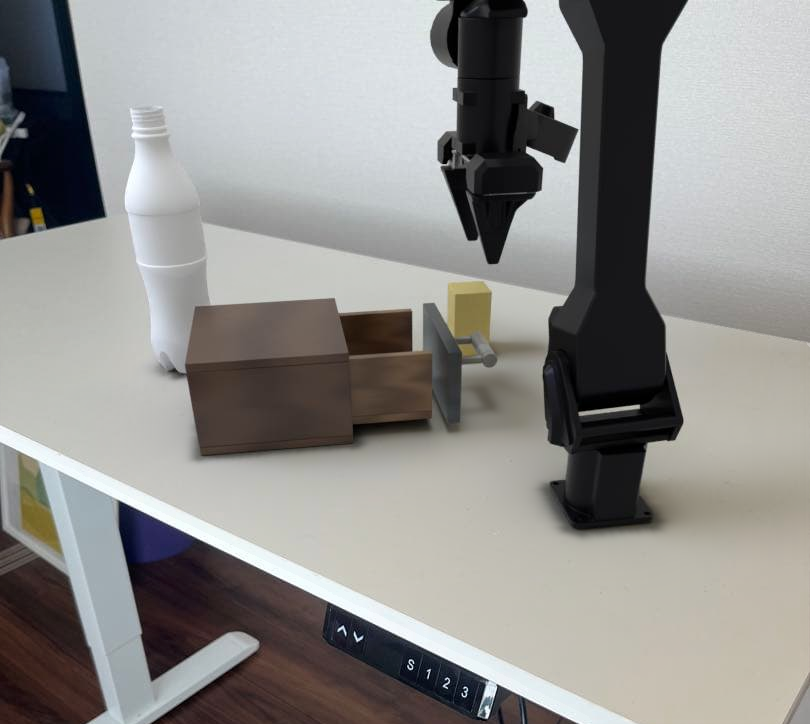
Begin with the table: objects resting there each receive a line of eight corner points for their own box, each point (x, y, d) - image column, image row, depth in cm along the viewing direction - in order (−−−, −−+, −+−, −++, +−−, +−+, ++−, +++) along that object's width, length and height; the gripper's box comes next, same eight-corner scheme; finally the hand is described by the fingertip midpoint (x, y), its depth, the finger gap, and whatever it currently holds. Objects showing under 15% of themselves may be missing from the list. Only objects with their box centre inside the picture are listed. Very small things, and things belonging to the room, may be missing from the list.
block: (488, 354, 91) (492, 292, 87) (453, 357, 90) (455, 294, 86) (480, 341, 94) (483, 280, 90) (446, 344, 93) (447, 282, 90)
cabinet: (339, 378, 86) (334, 297, 81) (353, 443, 74) (348, 352, 69) (208, 388, 84) (194, 306, 79) (200, 455, 72) (184, 363, 67)
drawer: (473, 363, 86) (475, 299, 83) (504, 419, 75) (509, 348, 72) (315, 374, 84) (309, 310, 81) (324, 433, 74) (318, 362, 70)
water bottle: (142, 370, 88) (88, 111, 74) (186, 348, 93) (143, 101, 79) (194, 382, 85) (149, 115, 71) (237, 359, 91) (202, 105, 76)
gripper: (609, 83, 68) (588, 272, 77) (544, 66, 83) (533, 226, 92) (478, 87, 67) (472, 279, 76) (436, 70, 82) (435, 231, 91)
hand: (482, 251), depth 84 cm, fingers open, 9 cm apart
